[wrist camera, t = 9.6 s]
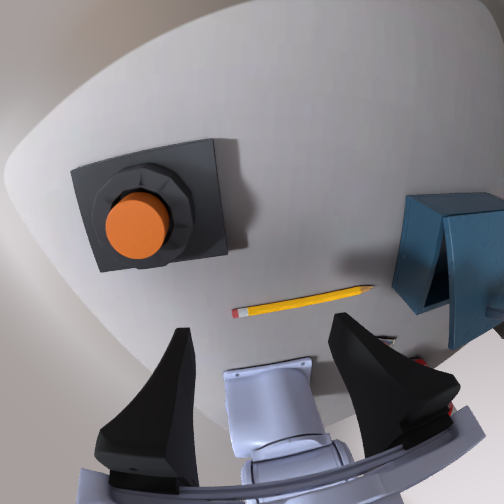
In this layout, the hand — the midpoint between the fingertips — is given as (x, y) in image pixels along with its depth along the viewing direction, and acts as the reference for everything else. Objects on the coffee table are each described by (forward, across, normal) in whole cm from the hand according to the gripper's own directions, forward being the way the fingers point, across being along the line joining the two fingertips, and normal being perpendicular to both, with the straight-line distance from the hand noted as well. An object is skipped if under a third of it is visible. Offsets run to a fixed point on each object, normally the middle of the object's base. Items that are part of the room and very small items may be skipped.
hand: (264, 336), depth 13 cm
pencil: (+9, -6, +5) cm, 12 cm away
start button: (+6, +7, -4) cm, 10 cm away
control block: (+9, +7, -4) cm, 12 cm away
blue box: (+9, -21, 0) cm, 23 cm away
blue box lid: (+2, -21, -1) cm, 21 cm away
